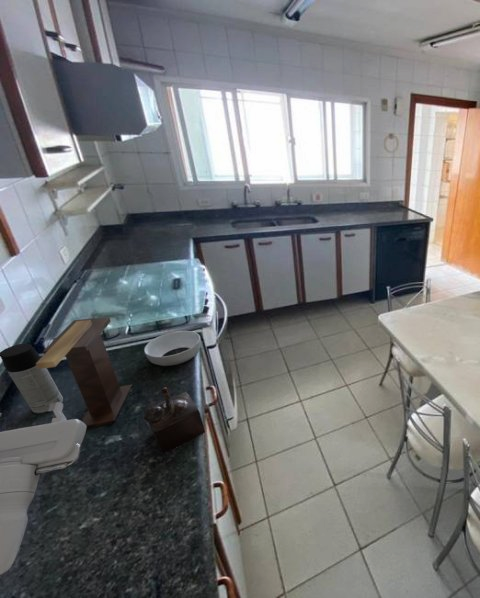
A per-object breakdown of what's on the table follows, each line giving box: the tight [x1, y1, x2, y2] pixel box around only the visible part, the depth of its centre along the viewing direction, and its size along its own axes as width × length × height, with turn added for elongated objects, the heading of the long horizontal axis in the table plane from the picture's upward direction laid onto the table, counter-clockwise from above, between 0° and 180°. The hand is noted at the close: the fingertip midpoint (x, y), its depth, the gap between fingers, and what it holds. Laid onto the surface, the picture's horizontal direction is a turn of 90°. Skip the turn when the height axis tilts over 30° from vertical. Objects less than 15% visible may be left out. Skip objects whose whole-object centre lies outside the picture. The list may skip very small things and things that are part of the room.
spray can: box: [0, 342, 64, 414], centre depth 92 cm, size 7×7×20 cm
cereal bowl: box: [143, 330, 202, 367], centre depth 119 cm, size 17×17×7 cm
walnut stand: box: [42, 316, 133, 430], centre depth 92 cm, size 8×16×26 cm, turn 22°
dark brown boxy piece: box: [143, 386, 206, 455], centre depth 84 cm, size 16×11×18 cm
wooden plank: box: [36, 320, 92, 369], centre depth 81 cm, size 3×20×2 cm, turn 22°
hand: (27, 408), depth 68 cm, fingers open, 8 cm apart
